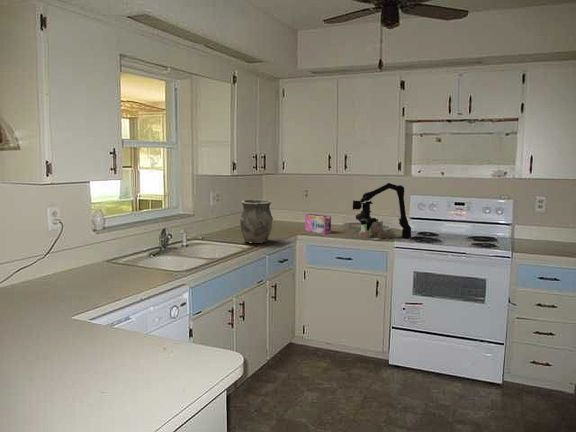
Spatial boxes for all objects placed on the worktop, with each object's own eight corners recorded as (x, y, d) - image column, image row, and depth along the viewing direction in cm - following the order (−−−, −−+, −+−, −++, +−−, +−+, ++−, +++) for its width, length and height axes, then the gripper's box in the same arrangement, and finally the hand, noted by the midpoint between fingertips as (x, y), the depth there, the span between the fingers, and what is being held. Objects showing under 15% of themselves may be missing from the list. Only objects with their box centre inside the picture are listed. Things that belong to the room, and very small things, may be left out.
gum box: (332, 233, 379) (332, 216, 377) (325, 234, 373) (326, 217, 372) (311, 229, 396) (311, 213, 394) (304, 230, 391) (304, 214, 389)
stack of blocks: (375, 231, 388) (375, 216, 387) (382, 232, 385) (383, 217, 383) (364, 235, 371) (364, 219, 369) (371, 235, 367) (371, 220, 366)
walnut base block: (388, 237, 357) (388, 232, 357) (380, 238, 354) (380, 233, 353) (382, 236, 364) (382, 231, 364) (373, 237, 361) (373, 231, 360)
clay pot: (236, 244, 331) (236, 201, 327) (245, 238, 353) (244, 198, 349) (268, 245, 327) (268, 202, 323) (275, 239, 349) (274, 199, 345)
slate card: (383, 240, 348) (383, 239, 348) (375, 240, 345) (375, 239, 345) (377, 238, 354) (377, 237, 354) (369, 239, 351) (369, 238, 351)
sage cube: (370, 231, 359) (370, 225, 359) (364, 232, 357) (365, 225, 357) (366, 230, 364) (366, 224, 363) (361, 231, 362) (361, 224, 361)
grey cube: (391, 235, 369) (391, 229, 368) (386, 235, 367) (386, 229, 366) (387, 234, 373) (387, 228, 373) (382, 234, 371) (382, 228, 371)
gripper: (350, 208, 363) (349, 229, 365) (364, 211, 347) (364, 232, 349) (362, 208, 368) (361, 228, 370) (377, 210, 352) (376, 231, 354)
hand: (365, 230), depth 360 cm, fingers closed on sage cube, 5 cm apart
